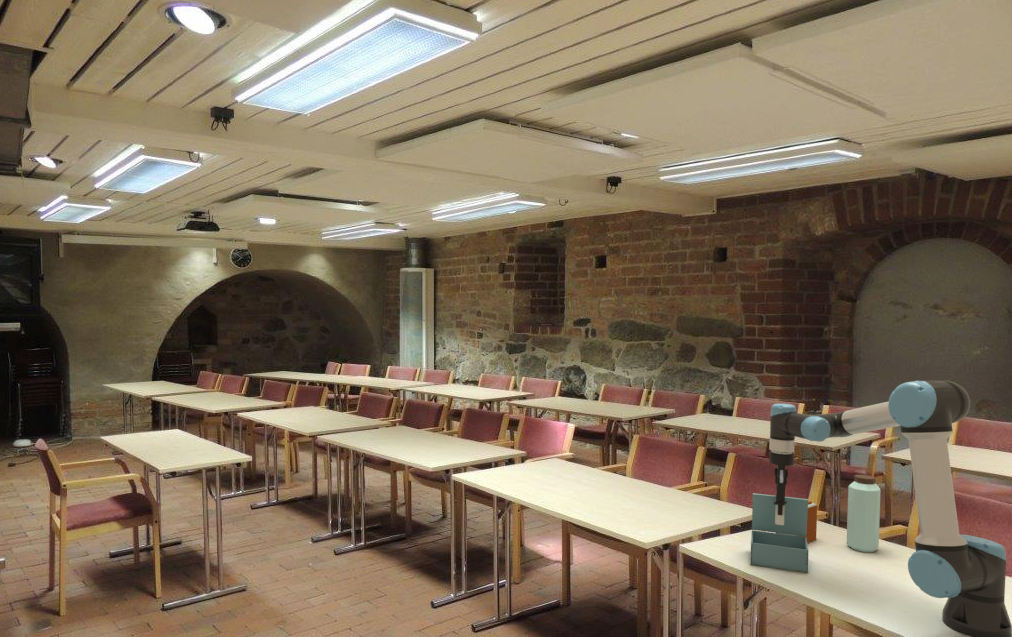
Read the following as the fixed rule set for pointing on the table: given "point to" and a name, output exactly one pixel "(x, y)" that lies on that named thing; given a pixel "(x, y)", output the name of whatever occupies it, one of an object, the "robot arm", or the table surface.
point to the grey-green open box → (779, 551)
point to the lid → (792, 515)
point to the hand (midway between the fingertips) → (779, 524)
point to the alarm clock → (810, 522)
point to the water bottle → (863, 514)
